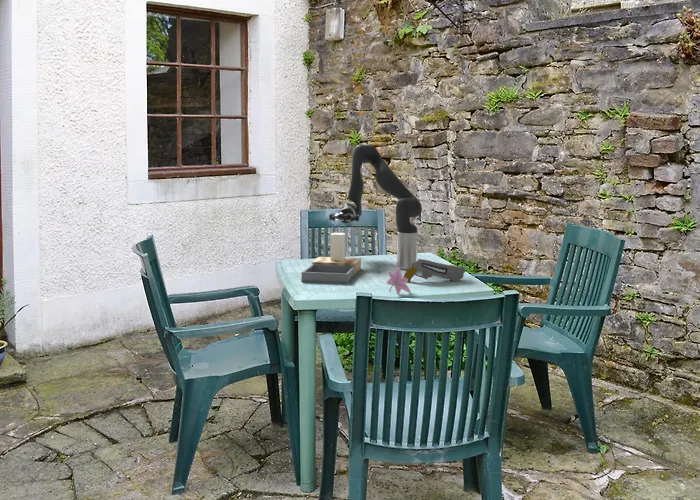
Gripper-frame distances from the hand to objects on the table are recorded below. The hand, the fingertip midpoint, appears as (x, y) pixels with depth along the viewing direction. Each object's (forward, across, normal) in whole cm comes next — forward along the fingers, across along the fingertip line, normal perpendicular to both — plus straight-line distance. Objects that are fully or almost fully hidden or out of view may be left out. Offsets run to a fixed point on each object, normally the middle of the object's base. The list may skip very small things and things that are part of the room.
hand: (342, 219), depth 357 cm
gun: (+32, +45, +21) cm, 59 cm away
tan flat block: (+14, 0, +22) cm, 26 cm away
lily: (+60, +31, +20) cm, 71 cm away
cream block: (+12, 0, +17) cm, 21 cm away
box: (+34, 0, +22) cm, 40 cm away
